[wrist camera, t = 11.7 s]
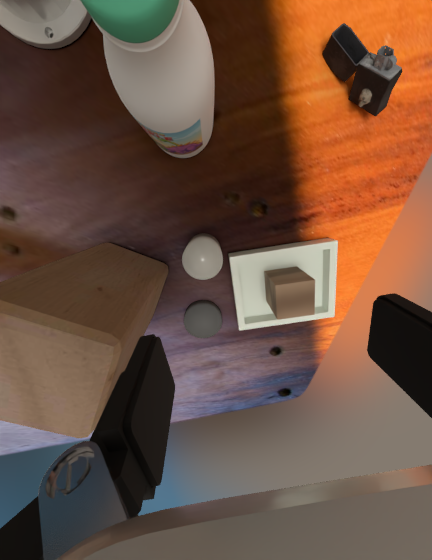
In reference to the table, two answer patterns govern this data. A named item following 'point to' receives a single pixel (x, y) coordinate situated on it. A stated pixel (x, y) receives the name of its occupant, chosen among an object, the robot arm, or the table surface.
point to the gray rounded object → (203, 319)
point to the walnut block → (290, 292)
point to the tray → (305, 255)
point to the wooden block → (73, 335)
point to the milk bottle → (160, 68)
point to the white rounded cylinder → (202, 257)
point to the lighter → (362, 69)
